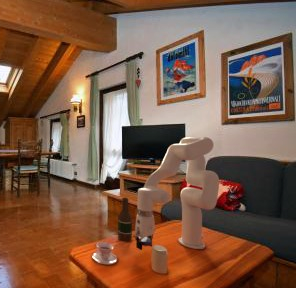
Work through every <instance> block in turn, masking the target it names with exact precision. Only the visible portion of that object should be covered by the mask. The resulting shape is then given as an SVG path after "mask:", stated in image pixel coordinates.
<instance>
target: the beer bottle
mask: <svg viewBox="0 0 296 288" xmlns="http://www.w3.org/2000/svg"><path fill="white" fill-rule="evenodd" d="M121 202H122V203H121V211H120V213H119V215H118V219H117V238H118V240H119V241H121V242H125V243H127V242H131V241H132V239H133V218H132V215H131V213H130V211H129V210H130V209H129V198H127V197H122V199H121Z"/></svg>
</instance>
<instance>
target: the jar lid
mask: <svg viewBox="0 0 296 288" xmlns="http://www.w3.org/2000/svg"><path fill="white" fill-rule="evenodd" d="M140 237H141V236H139V239H140ZM141 242H142V247H143V246H144V247H152V246H153V239H152V240H151V239H150V238H148V237H143V238H142V241H141ZM151 245H152V246H151Z"/></svg>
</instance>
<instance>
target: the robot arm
mask: <svg viewBox="0 0 296 288" xmlns="http://www.w3.org/2000/svg"><path fill="white" fill-rule="evenodd" d="M213 149H214V141H213V139H211V138H210V137H207V136H197V137H196V136H189V137H188V136H187V137H183V138H181V139H180V141H179V143H173V144H171V145H169V147H168V148H167V151H166V153H165V155H164V157H163V159H162V161H161V163H160V166H159V168H157V169H156V170H155V171H154V172H152V173H151V174H150V175H149V176H148V177H147V179H146V181H145V183H144V185H143V187H141V188H138V189H137V204H136V205H137V207H136V210H137V211H136V213H137V214H136V218H135V228H134V229H135V231H134V232H133V233H132V237H133V238H134V239H135V243H136V244H135V245H136V246H135V248H136V249H138V250H140V251H143V245H142V242H141V241H142V238H143V237H148V238H150V239H151V240H152V241H153V238H154V235H155V233H156V224H155V222H156V221H155V216H154V204H167V203H168V202H169V201H170V198H171V195H170V193H169V191H167V190H166V189H165V188H160V187H157V186H158V185H159V183H160V182H161V181H163V180H165V179H168V178H171V177H174V176H176V175H177V174H178V172H179V169H180V167H181V164H182V163H183V161H187V165H186V174H185V181H186V183H187V184H189V185H190V186H195V187H190V186H189V187H187V186H186V187H183V188H182V189H181V191H180V194H179V195H180V202H181V237H179V238H178V243H179V244H180V245H182V246H184V247H185V248H189V249H193V250H203V249H205V248H206V244H205V243H204V242H203V239H205V235H204V234H203V212H202V210H207V211H212V210H213V209H215V207H216V205H217V203H218V197H219V188H220V178H219V175H218V173H216V172H215V171H212V170H207V169H206V163H207V162H206V157H205V155H208V154H209V153H210V152H211V151H213ZM196 187H197V188H196ZM200 188H202V189H200ZM139 236H141V237H140V239H139ZM150 247H153V244H152V245H151V246H150Z"/></svg>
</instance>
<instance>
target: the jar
mask: <svg viewBox="0 0 296 288" xmlns="http://www.w3.org/2000/svg"><path fill="white" fill-rule="evenodd" d="M168 256H169V253H168V250H167V248H166V247H165V246H163V245H160V244H155V245H152V249H151V263H150V264H151V265H150V268H151V270H152V271H153V272H155V273H157V274H162V275H163V274H167V273H168V271H169V269H168V267H169V266H168V263H169V257H168Z"/></svg>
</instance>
